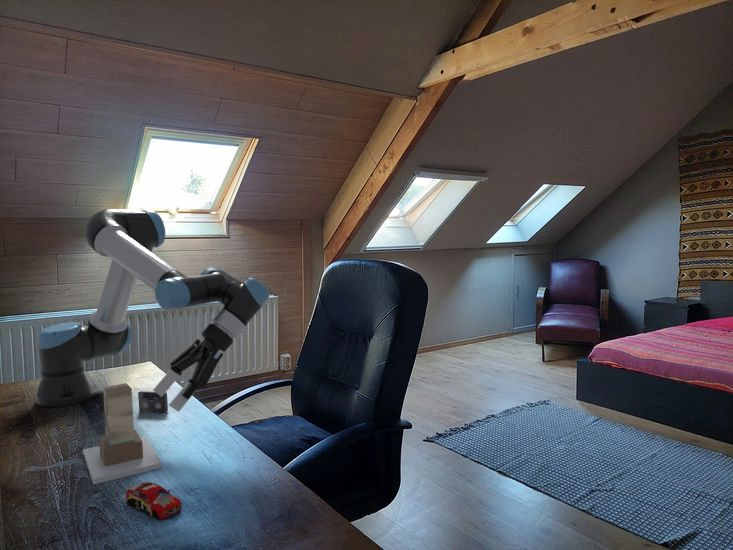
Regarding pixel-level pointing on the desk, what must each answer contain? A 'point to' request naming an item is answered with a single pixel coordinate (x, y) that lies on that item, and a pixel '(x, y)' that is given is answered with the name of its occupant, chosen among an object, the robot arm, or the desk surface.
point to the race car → (153, 500)
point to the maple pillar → (118, 413)
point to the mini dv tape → (152, 402)
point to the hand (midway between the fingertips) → (165, 400)
